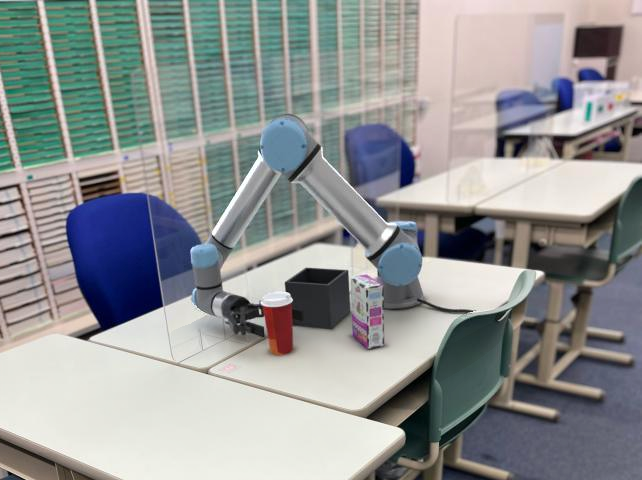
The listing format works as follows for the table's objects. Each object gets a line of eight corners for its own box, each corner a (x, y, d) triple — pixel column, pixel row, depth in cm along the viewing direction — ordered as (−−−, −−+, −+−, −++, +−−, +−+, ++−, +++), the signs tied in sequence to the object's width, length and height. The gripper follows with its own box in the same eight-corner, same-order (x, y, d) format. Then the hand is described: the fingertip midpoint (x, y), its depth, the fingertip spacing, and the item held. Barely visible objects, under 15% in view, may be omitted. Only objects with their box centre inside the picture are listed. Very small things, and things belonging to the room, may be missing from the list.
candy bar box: (385, 346, 182) (384, 284, 173) (368, 350, 181) (365, 288, 172) (368, 332, 191) (366, 273, 182) (351, 335, 190) (349, 276, 181)
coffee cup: (301, 345, 187) (296, 291, 179) (291, 357, 181) (285, 302, 173) (272, 343, 190) (266, 290, 182) (261, 355, 183) (254, 301, 176)
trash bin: (350, 312, 205) (348, 270, 198) (331, 329, 195) (328, 285, 188) (309, 308, 211) (305, 267, 204) (288, 324, 201) (284, 282, 194)
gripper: (267, 307, 203) (318, 322, 189) (198, 334, 189) (248, 353, 175) (264, 282, 199) (316, 295, 185) (194, 308, 185) (244, 325, 171)
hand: (283, 323), depth 180 cm, fingers open, 13 cm apart
